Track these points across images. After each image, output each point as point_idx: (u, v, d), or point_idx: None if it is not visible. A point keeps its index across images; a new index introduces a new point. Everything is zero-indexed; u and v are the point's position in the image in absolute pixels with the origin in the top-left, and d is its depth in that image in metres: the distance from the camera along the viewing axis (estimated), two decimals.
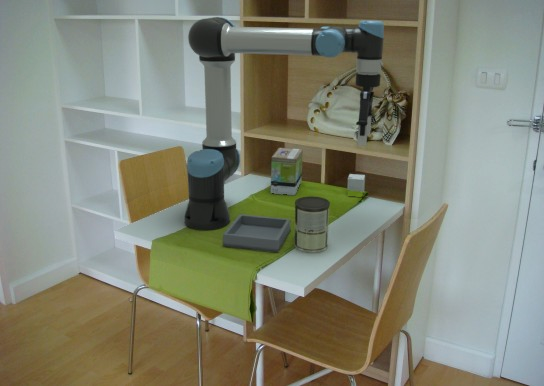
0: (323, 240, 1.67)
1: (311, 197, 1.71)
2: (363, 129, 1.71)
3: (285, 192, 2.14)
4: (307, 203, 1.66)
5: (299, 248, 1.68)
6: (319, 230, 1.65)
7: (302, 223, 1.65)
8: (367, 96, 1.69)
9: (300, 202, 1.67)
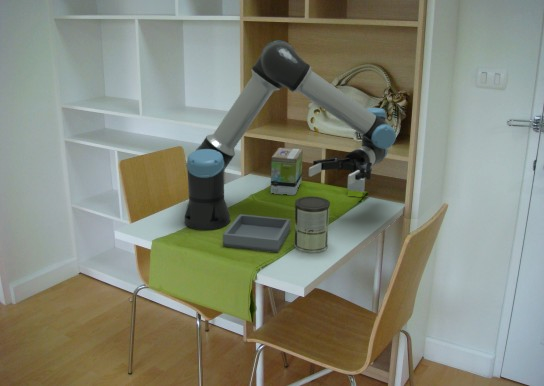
0: (323, 240, 1.67)
1: (311, 197, 1.71)
2: (361, 177, 1.72)
3: (285, 192, 2.14)
4: (307, 203, 1.66)
5: (299, 248, 1.68)
6: (319, 230, 1.65)
7: (302, 223, 1.65)
8: (370, 169, 1.81)
9: (300, 202, 1.67)
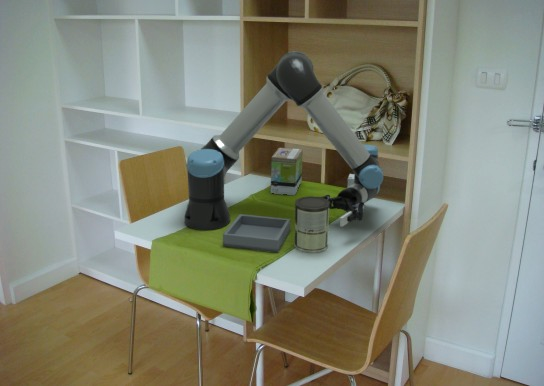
0: (323, 240, 1.67)
1: (311, 197, 1.71)
2: (353, 218, 1.72)
3: (285, 192, 2.14)
4: (307, 203, 1.66)
5: (299, 248, 1.68)
6: (319, 230, 1.65)
7: (302, 223, 1.65)
8: (363, 209, 1.80)
9: (300, 202, 1.67)
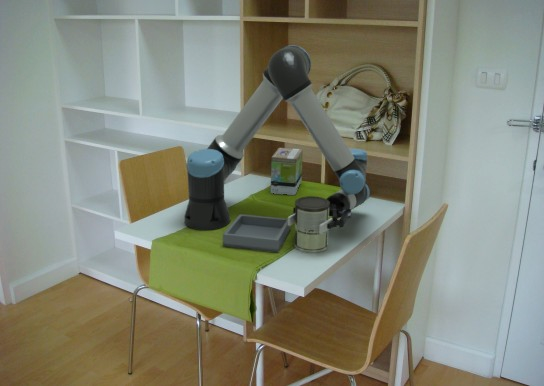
0: (323, 239, 1.67)
1: (311, 197, 1.71)
2: (333, 225, 1.66)
3: (285, 192, 2.14)
4: (307, 202, 1.66)
5: (299, 248, 1.68)
6: None
7: (302, 223, 1.65)
8: (349, 216, 1.74)
9: (300, 202, 1.67)
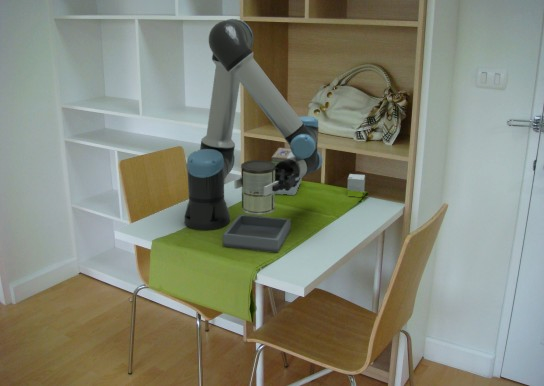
0: (269, 202, 1.68)
1: (258, 161, 1.72)
2: (279, 188, 1.67)
3: (285, 192, 2.14)
4: (253, 165, 1.68)
5: (245, 210, 1.69)
6: None
7: (247, 185, 1.66)
8: (297, 181, 1.75)
9: (246, 165, 1.68)
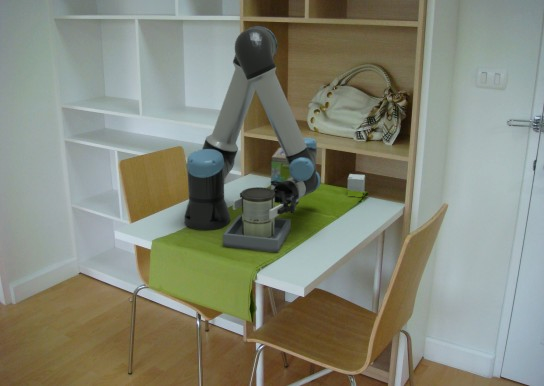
0: (269, 229, 1.71)
1: (258, 188, 1.75)
2: (284, 211, 1.70)
3: None
4: (253, 193, 1.71)
5: None
6: (264, 220, 1.69)
7: (247, 212, 1.69)
8: (297, 202, 1.78)
9: (246, 192, 1.71)
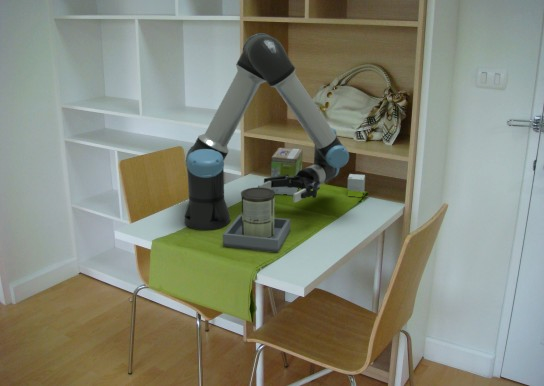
0: (269, 229, 1.71)
1: (258, 188, 1.75)
2: (307, 195, 1.80)
3: (285, 192, 2.14)
4: (253, 193, 1.71)
5: None
6: (264, 220, 1.69)
7: (247, 213, 1.69)
8: (318, 188, 1.88)
9: (246, 192, 1.71)
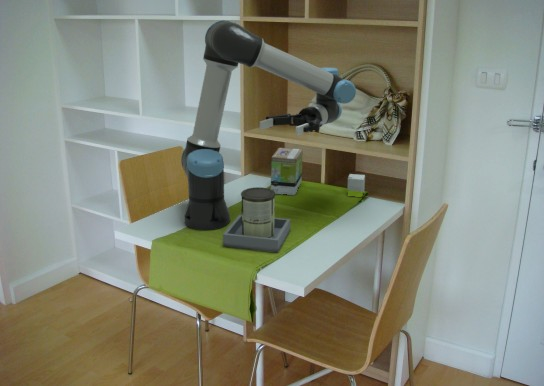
0: (269, 229, 1.71)
1: (258, 188, 1.75)
2: (309, 129, 1.77)
3: (285, 192, 2.14)
4: (253, 193, 1.71)
5: None
6: (264, 220, 1.69)
7: (247, 213, 1.69)
8: (321, 125, 1.86)
9: (246, 192, 1.71)
